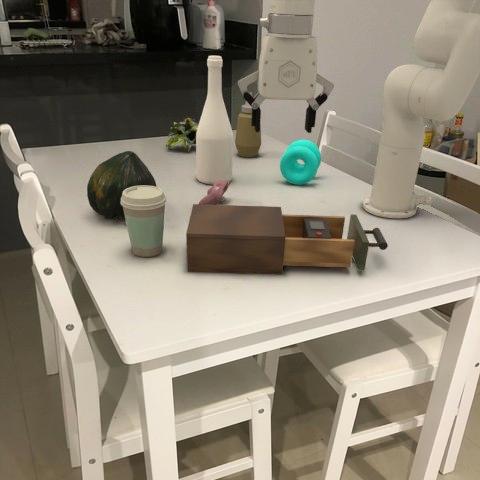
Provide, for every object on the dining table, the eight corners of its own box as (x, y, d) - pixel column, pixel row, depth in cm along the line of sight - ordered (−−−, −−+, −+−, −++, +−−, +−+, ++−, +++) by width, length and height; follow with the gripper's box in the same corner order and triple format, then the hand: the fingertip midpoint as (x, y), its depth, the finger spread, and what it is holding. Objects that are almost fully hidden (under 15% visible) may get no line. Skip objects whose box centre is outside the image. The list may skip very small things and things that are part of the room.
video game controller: (212, 217, 125) (226, 193, 121) (195, 207, 124) (208, 182, 120) (222, 203, 133) (235, 179, 129) (206, 193, 132) (219, 169, 128)
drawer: (373, 241, 110) (378, 215, 107) (388, 271, 99) (394, 243, 95) (272, 238, 110) (274, 211, 107) (275, 268, 98) (277, 239, 95)
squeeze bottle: (231, 152, 166) (232, 90, 157) (255, 151, 169) (258, 89, 159) (239, 159, 160) (240, 95, 150) (264, 158, 162) (267, 94, 152)
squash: (69, 186, 119) (89, 144, 108) (126, 175, 129) (149, 135, 117) (98, 240, 118) (121, 203, 106) (153, 225, 127) (179, 190, 116)
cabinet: (278, 241, 111) (281, 206, 107) (282, 274, 98) (285, 236, 94) (193, 239, 111) (193, 203, 106) (187, 271, 98) (186, 233, 94)
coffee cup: (148, 238, 110) (144, 181, 104) (177, 250, 106) (175, 191, 99) (116, 251, 105) (109, 191, 98) (145, 264, 100) (141, 203, 94)
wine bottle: (237, 183, 141) (240, 58, 125) (203, 187, 138) (202, 59, 122) (224, 173, 148) (226, 53, 132) (192, 176, 145) (189, 54, 129)
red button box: (322, 239, 107) (325, 217, 105) (328, 259, 100) (331, 236, 97) (302, 238, 107) (304, 217, 105) (306, 258, 100) (308, 235, 97)
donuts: (277, 184, 142) (280, 146, 136) (284, 173, 150) (286, 136, 145) (315, 188, 140) (319, 149, 135) (319, 176, 148) (323, 140, 143)
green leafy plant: (190, 163, 174) (210, 131, 171) (192, 166, 164) (214, 132, 161) (160, 142, 170) (180, 109, 167) (161, 145, 160) (182, 109, 157)
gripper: (241, 26, 86) (238, 135, 96) (345, 30, 88) (332, 136, 97) (237, 23, 93) (235, 125, 102) (335, 26, 94) (323, 127, 103)
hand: (282, 130), depth 100 cm, fingers open, 9 cm apart
